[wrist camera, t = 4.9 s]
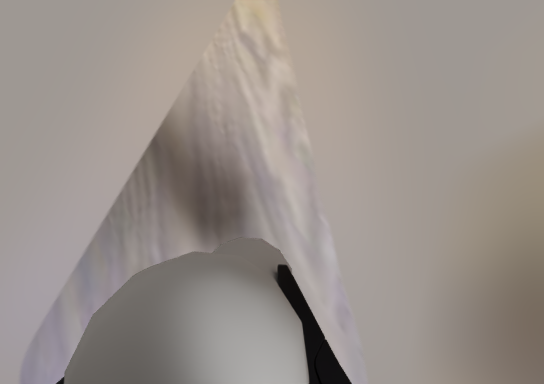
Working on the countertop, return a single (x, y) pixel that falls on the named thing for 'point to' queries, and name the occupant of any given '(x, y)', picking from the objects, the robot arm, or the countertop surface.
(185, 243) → the countertop surface
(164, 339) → the salt shaker
